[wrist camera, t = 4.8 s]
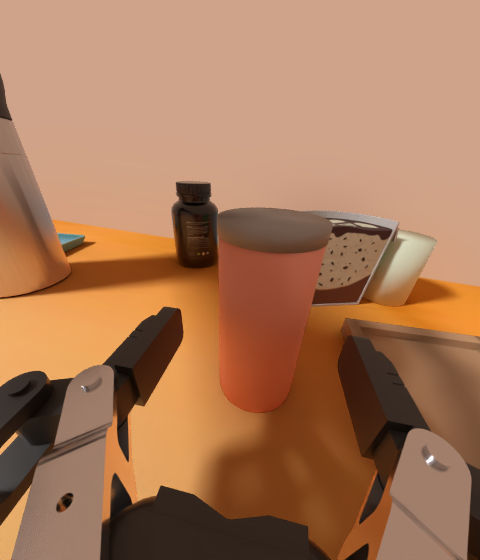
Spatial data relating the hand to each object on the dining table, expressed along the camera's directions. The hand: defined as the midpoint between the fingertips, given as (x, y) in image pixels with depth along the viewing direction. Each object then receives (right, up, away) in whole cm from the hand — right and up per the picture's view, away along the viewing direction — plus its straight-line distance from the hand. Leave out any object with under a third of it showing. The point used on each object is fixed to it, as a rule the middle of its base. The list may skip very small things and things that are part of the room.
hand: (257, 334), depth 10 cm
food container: (+9, +1, +17) cm, 19 cm away
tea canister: (0, -5, +6) cm, 8 cm away
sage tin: (+18, +1, +18) cm, 25 cm away
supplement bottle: (-8, +6, +25) cm, 27 cm away
